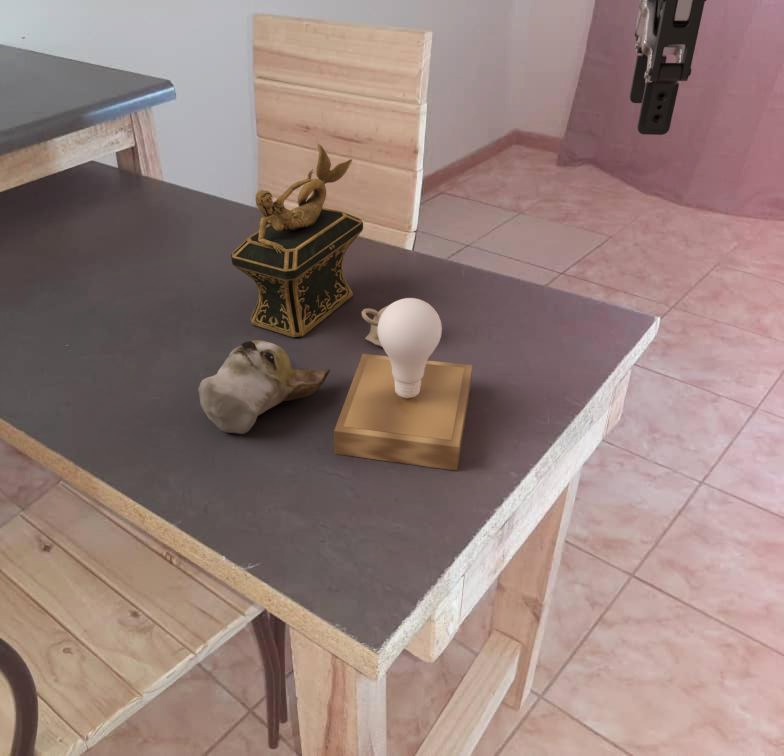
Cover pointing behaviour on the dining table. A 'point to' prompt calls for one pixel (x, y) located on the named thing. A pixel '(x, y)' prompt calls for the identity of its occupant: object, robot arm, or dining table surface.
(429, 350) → the lightbulb
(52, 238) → the dining table surface
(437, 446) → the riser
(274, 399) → the ceramic sculpture
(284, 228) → the decorative box
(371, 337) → the decorative ornament
